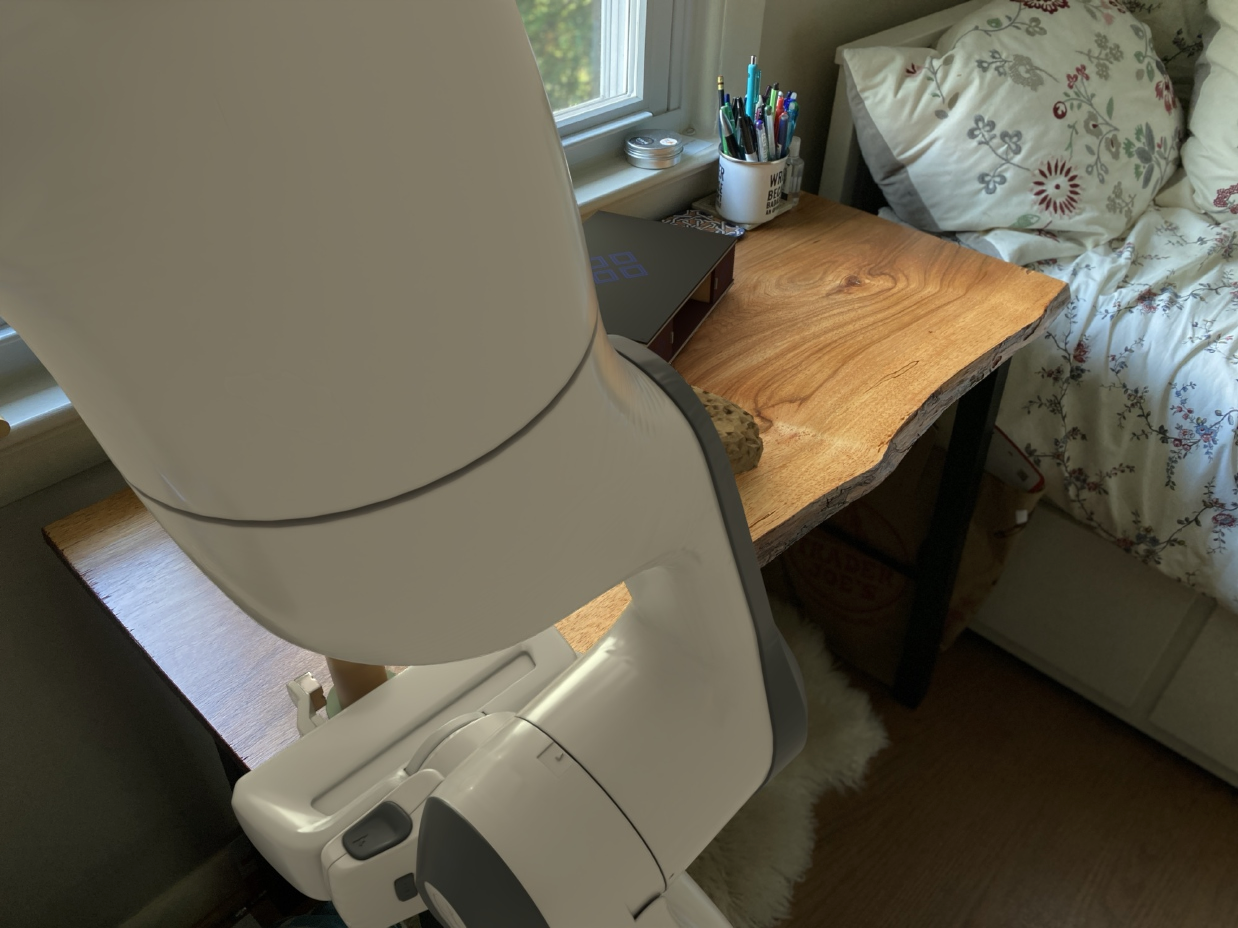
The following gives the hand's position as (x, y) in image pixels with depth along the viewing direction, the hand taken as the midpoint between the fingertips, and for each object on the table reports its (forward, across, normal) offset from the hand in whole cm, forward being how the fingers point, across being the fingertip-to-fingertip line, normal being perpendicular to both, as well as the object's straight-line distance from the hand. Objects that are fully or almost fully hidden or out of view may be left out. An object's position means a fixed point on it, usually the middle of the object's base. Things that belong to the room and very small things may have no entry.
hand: (347, 653), depth 58 cm
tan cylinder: (-1, 0, +6) cm, 7 cm away
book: (+25, -48, +7) cm, 55 cm away
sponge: (+7, -34, +7) cm, 35 cm away
